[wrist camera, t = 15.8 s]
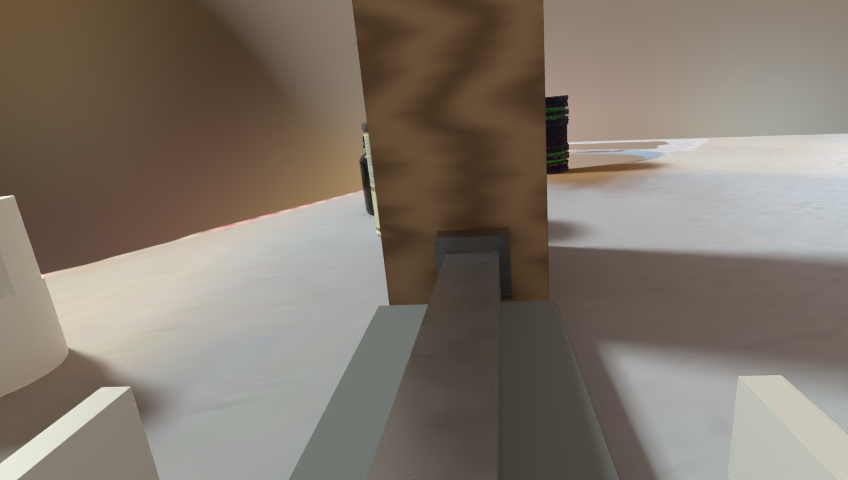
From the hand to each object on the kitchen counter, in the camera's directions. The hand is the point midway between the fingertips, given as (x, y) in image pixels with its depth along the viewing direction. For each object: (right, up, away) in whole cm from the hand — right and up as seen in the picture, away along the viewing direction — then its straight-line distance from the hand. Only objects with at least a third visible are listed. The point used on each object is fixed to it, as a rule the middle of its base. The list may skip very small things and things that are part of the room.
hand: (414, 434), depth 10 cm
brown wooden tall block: (+5, +1, +32) cm, 33 cm away
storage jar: (+26, +19, +87) cm, 93 cm away
